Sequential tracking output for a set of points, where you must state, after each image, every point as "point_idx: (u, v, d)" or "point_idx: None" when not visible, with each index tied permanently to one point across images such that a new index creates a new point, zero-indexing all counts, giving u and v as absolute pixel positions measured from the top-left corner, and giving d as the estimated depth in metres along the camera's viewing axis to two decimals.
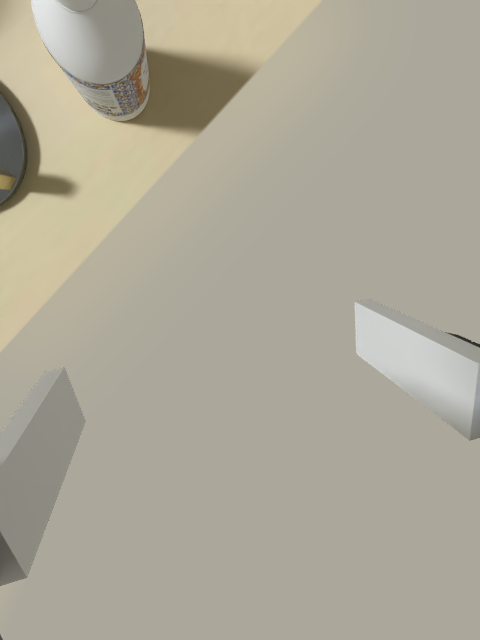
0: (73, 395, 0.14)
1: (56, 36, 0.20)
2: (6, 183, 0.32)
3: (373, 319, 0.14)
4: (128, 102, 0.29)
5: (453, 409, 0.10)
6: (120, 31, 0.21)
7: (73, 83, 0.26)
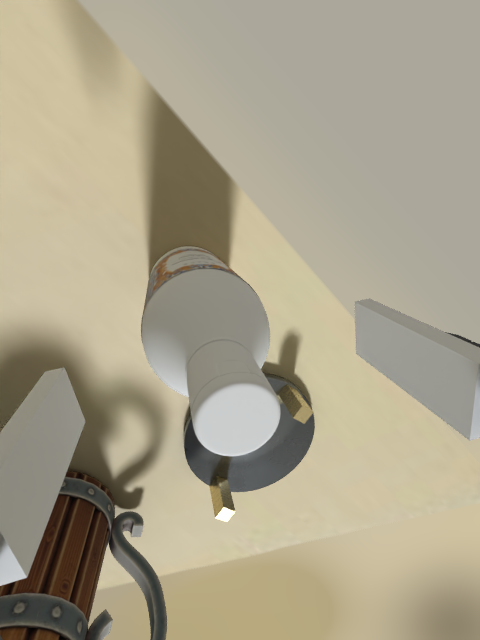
0: (73, 395, 0.14)
1: None
2: (298, 395, 0.32)
3: (373, 319, 0.14)
4: None
5: (453, 409, 0.10)
6: (242, 307, 0.15)
7: None
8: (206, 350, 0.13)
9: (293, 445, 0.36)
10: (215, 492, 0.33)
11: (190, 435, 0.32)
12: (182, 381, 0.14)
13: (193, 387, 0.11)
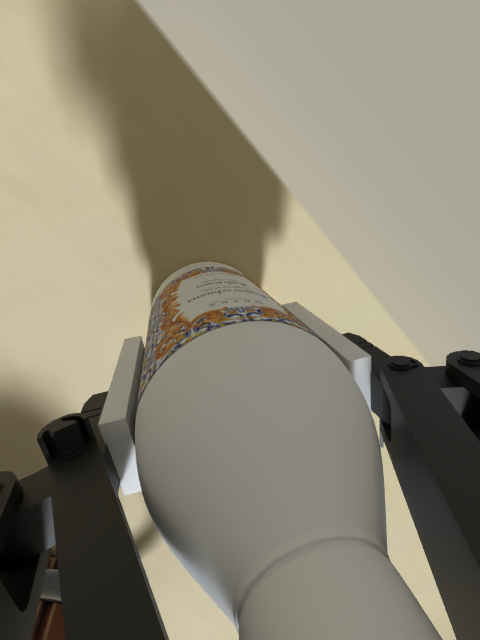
0: None
1: None
2: None
3: None
4: None
5: None
6: (346, 419, 0.07)
7: None
8: (302, 600, 0.05)
9: None
10: None
11: None
12: (224, 612, 0.06)
13: None
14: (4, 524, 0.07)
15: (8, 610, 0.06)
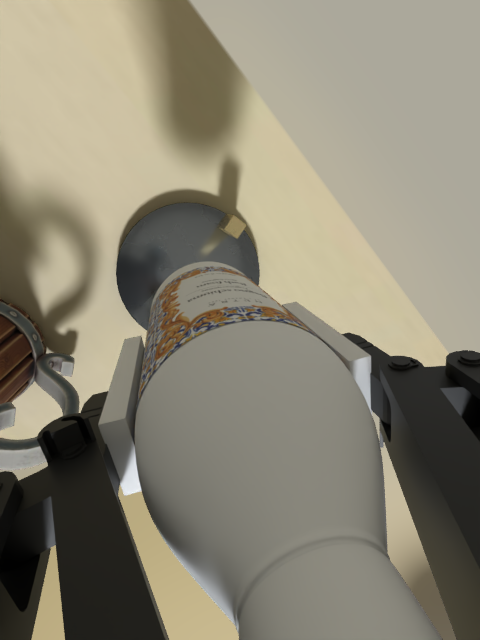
0: None
1: None
2: None
3: None
4: None
5: None
6: (346, 419, 0.07)
7: None
8: (301, 599, 0.05)
9: None
10: None
11: (122, 264, 0.31)
12: (224, 612, 0.06)
13: None
14: (4, 524, 0.07)
15: (8, 610, 0.06)
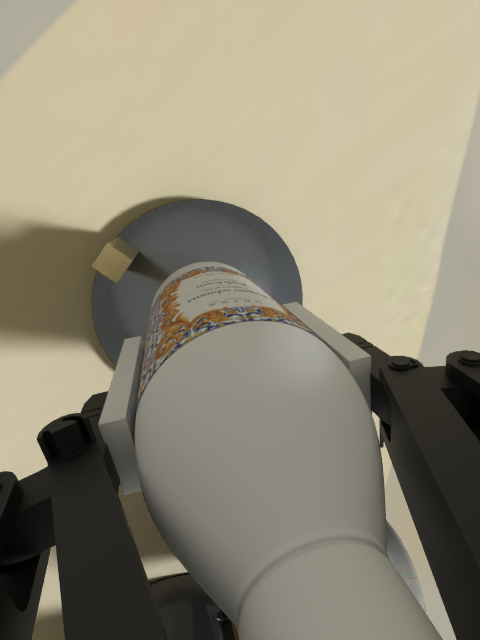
0: None
1: None
2: None
3: None
4: None
5: None
6: (346, 419, 0.07)
7: None
8: (301, 600, 0.05)
9: (233, 239, 0.21)
10: None
11: None
12: (224, 612, 0.06)
13: None
14: (4, 524, 0.07)
15: (8, 610, 0.06)
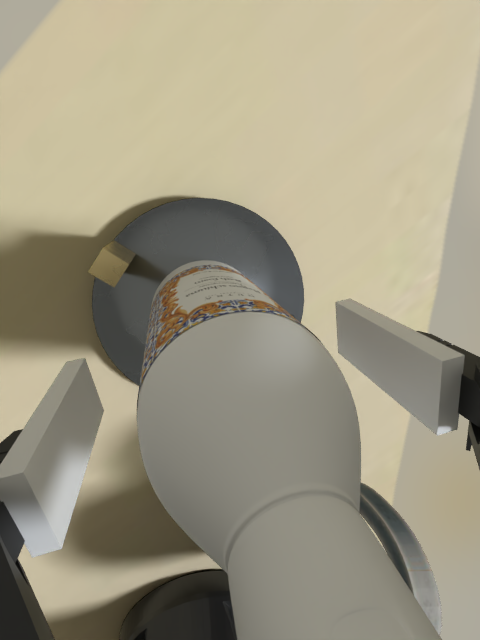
0: (93, 384, 0.14)
1: None
2: None
3: (352, 319, 0.14)
4: None
5: (422, 405, 0.11)
6: (325, 396, 0.08)
7: None
8: (279, 537, 0.05)
9: (230, 236, 0.21)
10: None
11: None
12: (216, 561, 0.07)
13: None
14: None
15: None
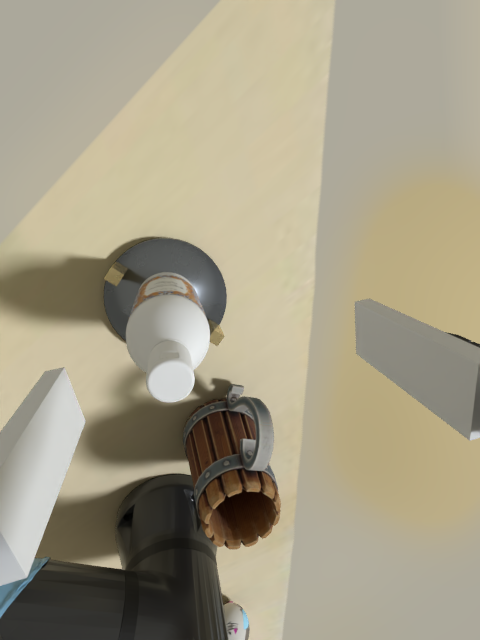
0: (73, 395, 0.14)
1: (196, 366, 0.26)
2: None
3: (373, 319, 0.14)
4: (198, 298, 0.33)
5: (453, 409, 0.10)
6: (186, 320, 0.25)
7: None
8: (159, 346, 0.22)
9: (180, 258, 0.37)
10: None
11: None
12: (147, 365, 0.23)
13: (148, 365, 0.21)
14: None
15: None
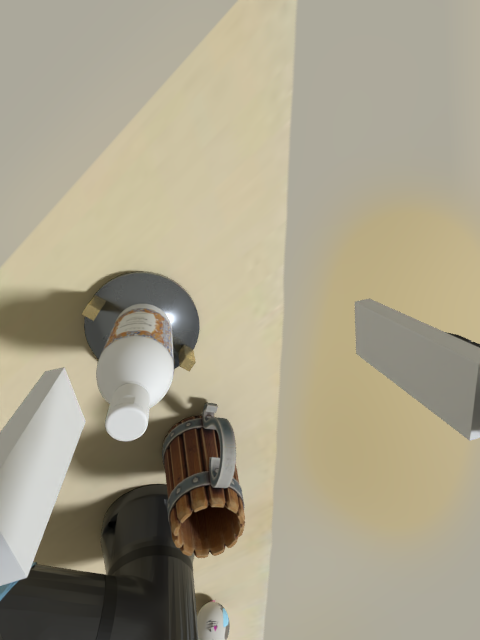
0: (73, 395, 0.14)
1: (158, 400, 0.29)
2: None
3: (373, 319, 0.14)
4: (168, 331, 0.36)
5: (453, 409, 0.10)
6: (147, 362, 0.28)
7: None
8: (119, 389, 0.25)
9: (155, 291, 0.40)
10: None
11: None
12: None
13: (108, 409, 0.24)
14: None
15: None
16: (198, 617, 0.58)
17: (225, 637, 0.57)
